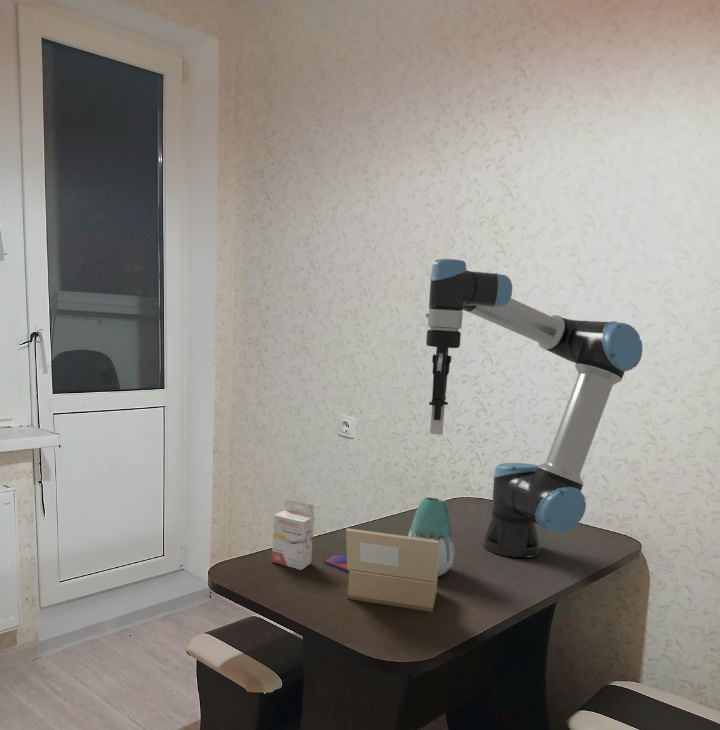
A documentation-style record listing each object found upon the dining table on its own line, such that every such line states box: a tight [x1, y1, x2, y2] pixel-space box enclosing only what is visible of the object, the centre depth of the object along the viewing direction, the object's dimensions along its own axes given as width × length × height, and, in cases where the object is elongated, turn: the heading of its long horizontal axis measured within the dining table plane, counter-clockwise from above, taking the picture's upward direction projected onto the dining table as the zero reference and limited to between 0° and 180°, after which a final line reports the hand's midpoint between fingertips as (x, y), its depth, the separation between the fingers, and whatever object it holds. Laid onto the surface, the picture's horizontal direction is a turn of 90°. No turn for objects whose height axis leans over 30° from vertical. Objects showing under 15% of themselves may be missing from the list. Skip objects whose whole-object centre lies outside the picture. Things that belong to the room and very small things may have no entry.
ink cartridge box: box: [271, 498, 315, 571], centre depth 150 cm, size 9×5×15 cm, turn 65°
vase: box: [407, 497, 455, 577], centre depth 151 cm, size 12×12×18 cm
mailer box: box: [347, 566, 439, 613], centre depth 137 cm, size 18×10×6 cm, turn 78°
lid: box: [345, 527, 439, 584], centre depth 129 cm, size 19×11×1 cm
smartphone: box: [323, 553, 349, 574], centre depth 151 cm, size 7×15×1 cm, turn 50°
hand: (436, 433), depth 143 cm, fingers closed
